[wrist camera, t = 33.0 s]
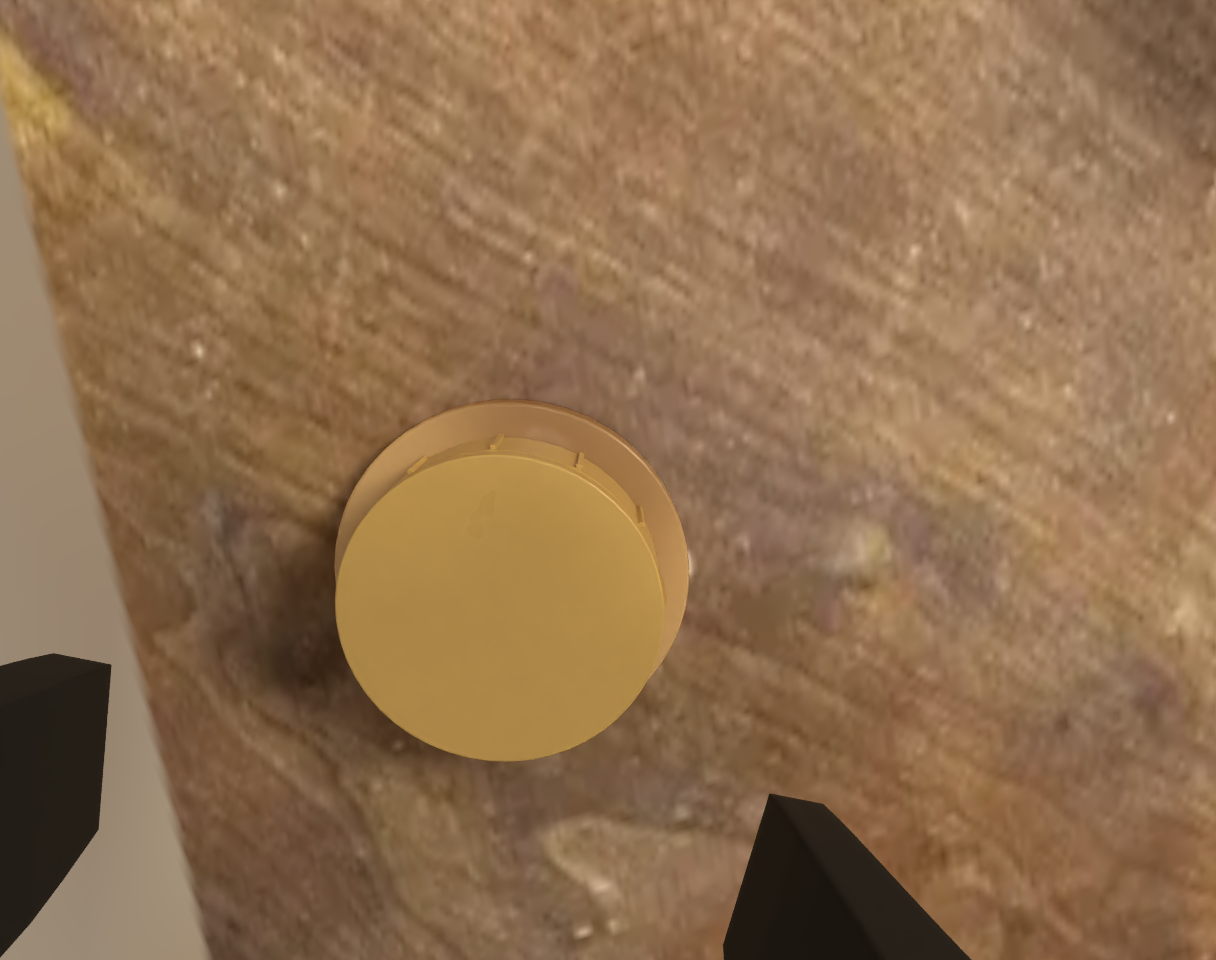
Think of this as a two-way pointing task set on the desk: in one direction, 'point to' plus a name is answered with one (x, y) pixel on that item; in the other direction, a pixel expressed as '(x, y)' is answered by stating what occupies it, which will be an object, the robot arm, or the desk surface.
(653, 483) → the tan round disc
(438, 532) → the lid
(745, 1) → the desk surface
